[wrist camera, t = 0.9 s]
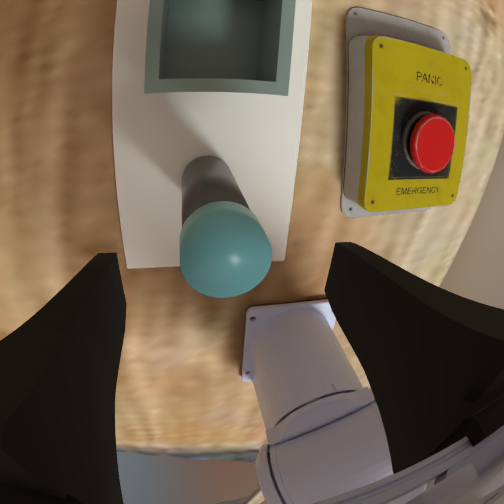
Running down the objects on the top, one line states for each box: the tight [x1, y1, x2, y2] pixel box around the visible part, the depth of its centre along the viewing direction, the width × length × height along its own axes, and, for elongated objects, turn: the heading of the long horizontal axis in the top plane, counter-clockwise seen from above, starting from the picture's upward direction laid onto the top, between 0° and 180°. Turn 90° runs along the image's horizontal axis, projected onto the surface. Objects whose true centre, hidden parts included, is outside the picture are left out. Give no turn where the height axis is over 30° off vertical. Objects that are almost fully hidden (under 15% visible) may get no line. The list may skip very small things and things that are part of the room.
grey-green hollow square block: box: [144, 0, 296, 96], centre depth 12 cm, size 6×6×4 cm
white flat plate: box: [112, 0, 312, 269], centre depth 17 cm, size 18×11×1 cm, turn 176°
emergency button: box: [340, 7, 471, 218], centre depth 17 cm, size 9×4×15 cm
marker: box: [179, 156, 272, 298], centre depth 15 cm, size 3×3×9 cm
